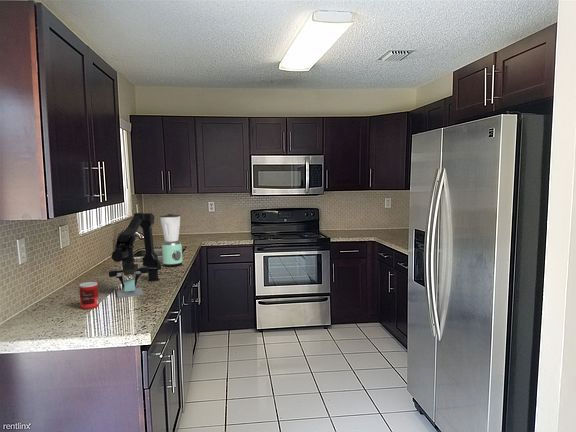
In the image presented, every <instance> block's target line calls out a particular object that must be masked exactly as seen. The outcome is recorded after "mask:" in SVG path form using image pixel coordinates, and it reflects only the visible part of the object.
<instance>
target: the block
mask: <svg viewBox="0 0 576 432" xmlns="http://www.w3.org/2000/svg"><path fill="white" fill-rule="evenodd" d="M123 282H124V288H123V290H125V291H133V290H135V288H136V287H135V278H129V279H123Z"/></svg>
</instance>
